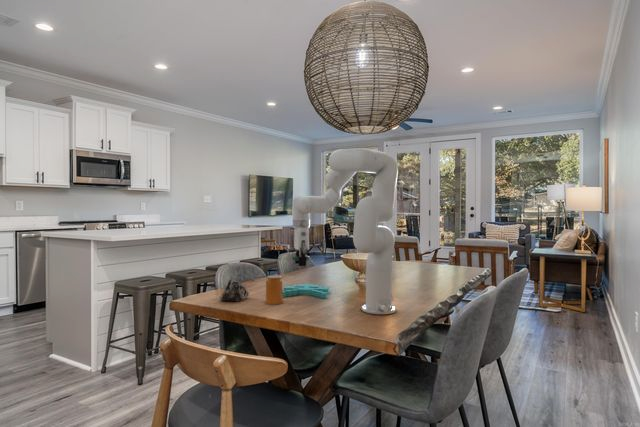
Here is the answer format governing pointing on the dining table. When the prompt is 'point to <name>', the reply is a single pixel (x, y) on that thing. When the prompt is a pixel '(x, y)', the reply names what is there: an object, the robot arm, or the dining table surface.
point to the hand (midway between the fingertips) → (300, 264)
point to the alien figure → (306, 290)
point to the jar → (274, 289)
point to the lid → (296, 257)
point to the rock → (234, 291)
